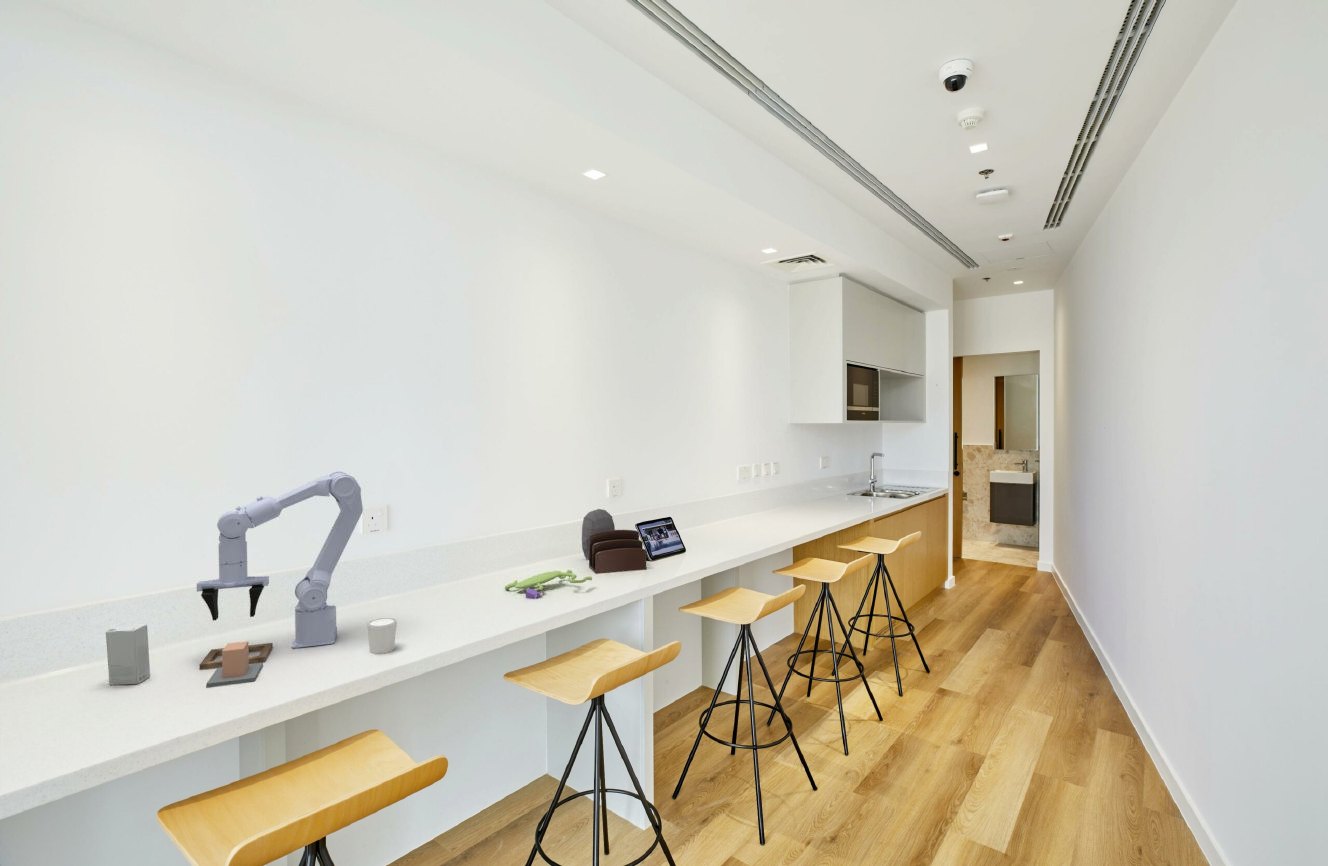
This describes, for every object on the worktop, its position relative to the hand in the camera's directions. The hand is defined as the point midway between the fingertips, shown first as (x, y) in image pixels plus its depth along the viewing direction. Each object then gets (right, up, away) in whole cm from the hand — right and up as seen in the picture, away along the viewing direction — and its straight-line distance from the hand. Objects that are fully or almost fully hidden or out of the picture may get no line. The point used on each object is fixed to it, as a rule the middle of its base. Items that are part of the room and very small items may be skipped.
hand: (234, 617), depth 158 cm
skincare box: (-13, -10, -15) cm, 22 cm away
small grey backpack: (+78, -6, +104) cm, 130 cm away
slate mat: (+8, -10, -11) cm, 17 cm away
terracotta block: (+8, -9, -11) cm, 16 cm away
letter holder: (+86, -7, +88) cm, 124 cm away
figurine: (+66, -8, +60) cm, 90 cm away
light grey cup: (+34, -10, +5) cm, 35 cm away
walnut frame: (+2, -10, -1) cm, 10 cm away
